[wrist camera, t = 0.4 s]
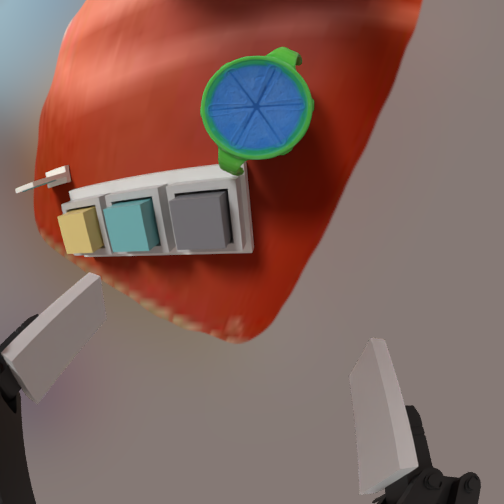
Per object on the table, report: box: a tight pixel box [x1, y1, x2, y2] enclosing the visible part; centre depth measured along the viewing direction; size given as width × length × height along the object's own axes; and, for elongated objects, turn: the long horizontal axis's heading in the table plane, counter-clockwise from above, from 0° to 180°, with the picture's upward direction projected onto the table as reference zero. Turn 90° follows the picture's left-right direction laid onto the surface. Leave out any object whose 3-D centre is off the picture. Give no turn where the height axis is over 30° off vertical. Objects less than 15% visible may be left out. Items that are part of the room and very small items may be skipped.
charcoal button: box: [169, 190, 233, 250], centre depth 33 cm, size 6×6×4 cm
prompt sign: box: [15, 165, 71, 193], centre depth 35 cm, size 3×6×9 cm, turn 95°
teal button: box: [103, 198, 160, 252], centre depth 34 cm, size 6×6×4 cm
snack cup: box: [200, 47, 314, 176], centre depth 27 cm, size 16×10×10 cm
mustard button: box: [58, 206, 104, 254], centre depth 36 cm, size 6×6×4 cm
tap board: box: [61, 162, 254, 257], centre depth 37 cm, size 12×30×5 cm, turn 95°
